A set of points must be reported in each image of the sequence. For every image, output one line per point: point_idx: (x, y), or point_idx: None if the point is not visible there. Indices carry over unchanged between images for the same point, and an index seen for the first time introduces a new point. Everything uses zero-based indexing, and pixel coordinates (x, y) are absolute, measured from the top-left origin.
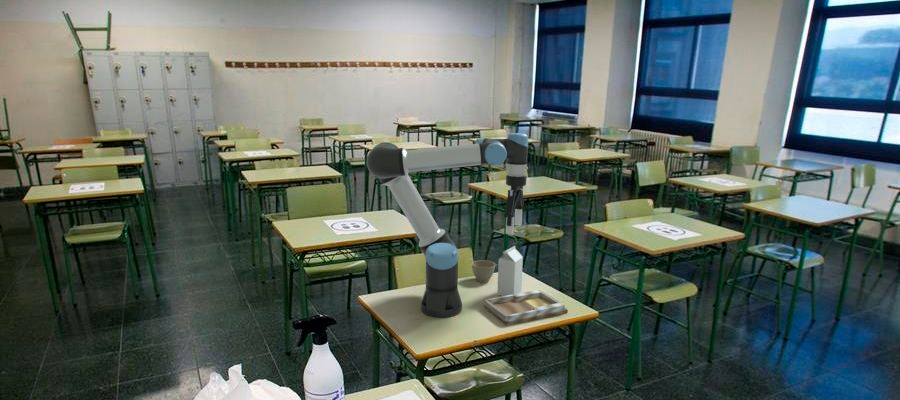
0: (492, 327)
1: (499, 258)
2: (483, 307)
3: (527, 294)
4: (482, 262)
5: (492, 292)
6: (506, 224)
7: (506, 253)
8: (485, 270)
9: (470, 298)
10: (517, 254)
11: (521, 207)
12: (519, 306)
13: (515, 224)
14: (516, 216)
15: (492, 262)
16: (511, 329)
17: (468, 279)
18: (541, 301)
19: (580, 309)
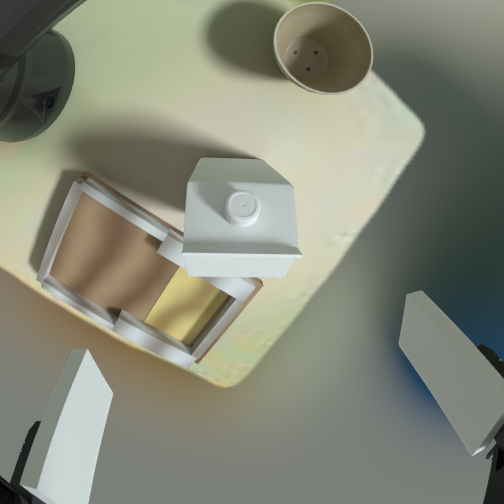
0: (21, 250)
1: (190, 185)
2: (86, 172)
3: None
4: (359, 33)
5: (212, 133)
6: (46, 419)
7: (190, 238)
8: (282, 70)
9: (125, 98)
10: (262, 266)
11: (491, 466)
12: (136, 267)
13: (409, 307)
14: (451, 365)
15: (366, 73)
16: (41, 288)
17: None
18: (205, 304)
19: (234, 372)
